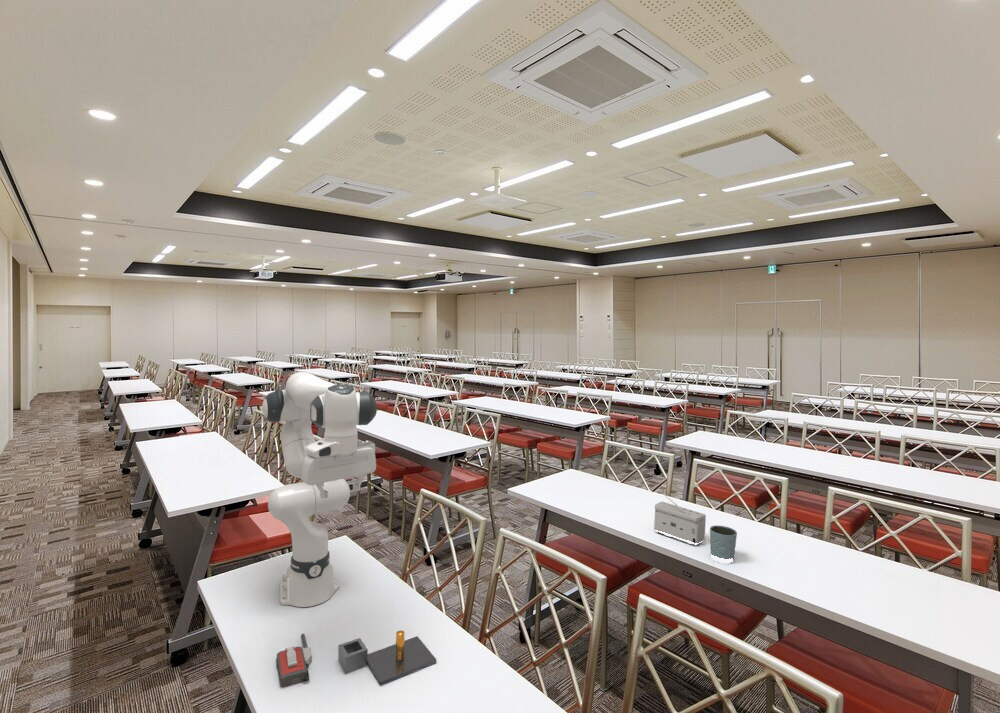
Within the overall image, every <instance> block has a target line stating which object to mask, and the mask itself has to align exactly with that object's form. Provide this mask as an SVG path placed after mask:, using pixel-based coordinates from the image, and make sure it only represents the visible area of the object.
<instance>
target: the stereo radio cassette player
mask: <svg viewBox="0 0 1000 713" xmlns="http://www.w3.org/2000/svg"><path fill="white" fill-rule="evenodd" d="M658 492H660V493H661V494H662V495H663V496H664V497H666V499H668V500H669V501H670V502H671V503H669V502H665V501H660V502H657V503H656V504H654V521H653V522H654V523H653V524H654V525H653V530H654V529H655V530H658V531H662V532H665V533H668V534H671V535H673V536H676V537H679V538H682V539H685V540H689V541H691V542H694V543H699V542H701V541H703V540H704V541H705V536H706V522H707V521H706V520H707V519H706V517H707V516H706V514H705V513H702V512H700V511H699V512H698V511H696V510H692V509H689V508H686V507H682V506H679V505H678V504H677V503H676V502H674V501H673V500H672V499H670V498H669V497H668V496H667V495H665V494H664V493H663V492H661V490H660V489H659V490H658ZM655 530H654V531H655ZM704 541H703V542H704Z"/></svg>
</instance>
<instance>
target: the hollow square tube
mask: <svg viewBox="0 0 1000 713" xmlns="http://www.w3.org/2000/svg"><path fill="white" fill-rule="evenodd" d="M337 651H338V652H337V653H338V654H337V655H338V656H337V658H338V659H337V660H338V663H339V665H340V667H341V670H343V673H344V674H345V675H346V674H349V673H352V672H354V671H357V670H360V669H362V668H365V667H368V654H369V649H368V648H367V646H366V645H365V643H364V642H363V640H362V639H361V637H358V638H355V639H352V640H350V641H347V642H343V643H341V644H338V649H337Z"/></svg>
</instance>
